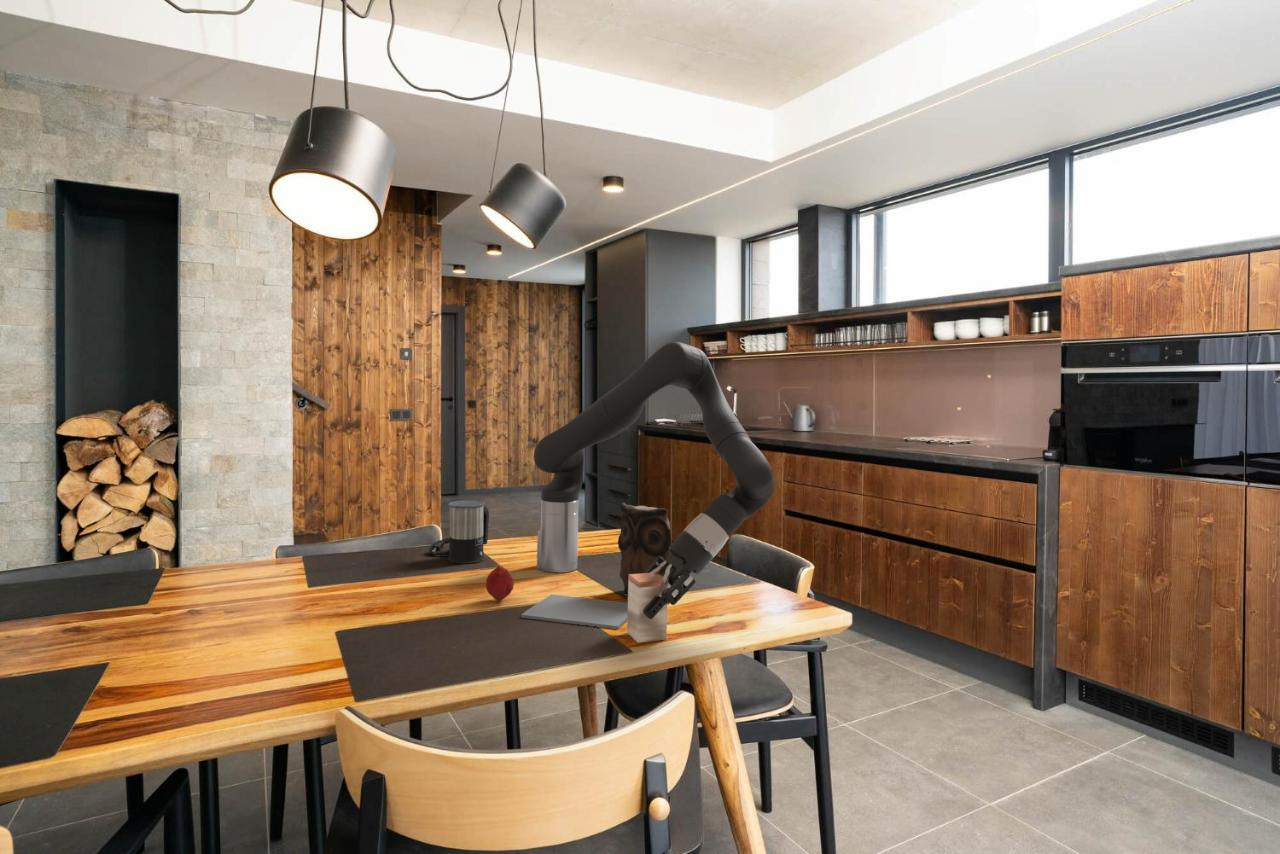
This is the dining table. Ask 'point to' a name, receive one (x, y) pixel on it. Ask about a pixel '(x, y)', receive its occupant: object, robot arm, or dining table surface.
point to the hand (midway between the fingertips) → (639, 609)
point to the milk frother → (465, 532)
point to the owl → (642, 539)
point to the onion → (499, 583)
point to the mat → (580, 611)
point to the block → (639, 597)
